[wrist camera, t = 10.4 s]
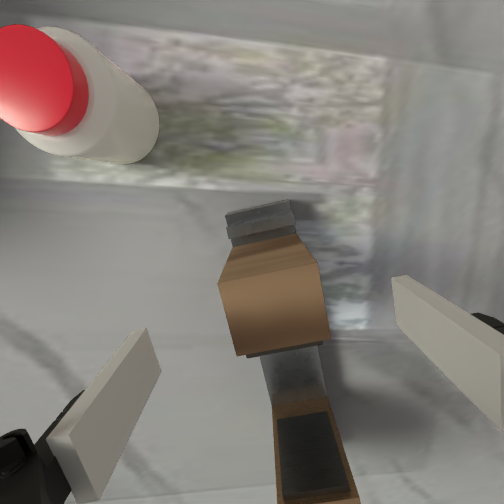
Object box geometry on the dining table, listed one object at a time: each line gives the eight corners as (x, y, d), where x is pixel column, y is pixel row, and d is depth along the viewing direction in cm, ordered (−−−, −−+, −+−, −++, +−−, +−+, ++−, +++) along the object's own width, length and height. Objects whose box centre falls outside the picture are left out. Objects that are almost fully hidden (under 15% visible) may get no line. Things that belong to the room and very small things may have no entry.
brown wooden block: (232, 247, 27) (217, 283, 17) (295, 233, 26) (317, 262, 16) (246, 301, 28) (239, 364, 18) (306, 289, 27) (332, 347, 18)
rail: (227, 212, 28) (204, 234, 16) (287, 199, 28) (308, 211, 16) (284, 444, 35) (297, 584, 23) (333, 436, 34) (373, 575, 22)
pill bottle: (108, 55, 25) (-1, -38, 15) (176, 117, 26) (120, 73, 16) (62, 125, 27) (-68, 86, 16) (128, 181, 28) (46, 179, 17)
